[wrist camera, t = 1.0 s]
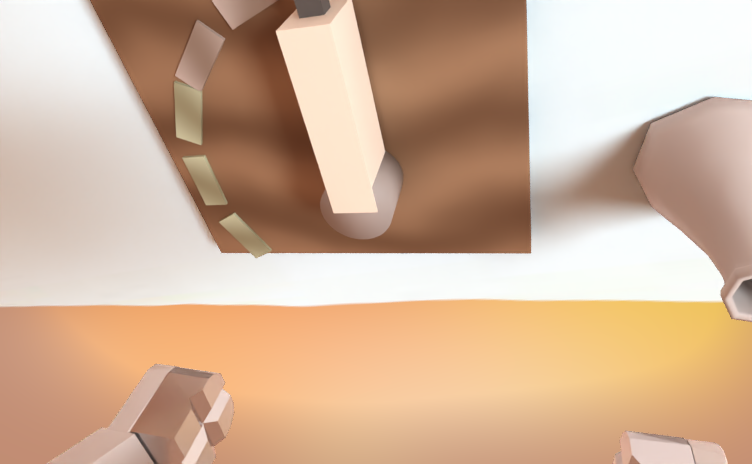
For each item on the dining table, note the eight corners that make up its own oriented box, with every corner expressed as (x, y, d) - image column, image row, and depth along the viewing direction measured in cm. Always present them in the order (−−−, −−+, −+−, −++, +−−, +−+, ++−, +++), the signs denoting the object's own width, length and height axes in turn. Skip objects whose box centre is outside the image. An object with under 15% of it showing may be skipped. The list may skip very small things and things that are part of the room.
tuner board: (98, -26, 28) (79, -16, 27) (524, -107, 22) (523, -99, 21) (231, 242, 40) (222, 257, 39) (530, 241, 34) (531, 259, 33)
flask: (633, 216, 31) (664, 356, 24) (630, 107, 27) (666, 237, 20) (781, 202, 28) (866, 354, 21) (803, 79, 24) (920, 215, 17)
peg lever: (408, 200, 32) (397, 240, 29) (346, 202, 33) (330, 240, 30) (359, -45, 23) (337, -20, 21) (277, -31, 24) (247, -5, 22)
